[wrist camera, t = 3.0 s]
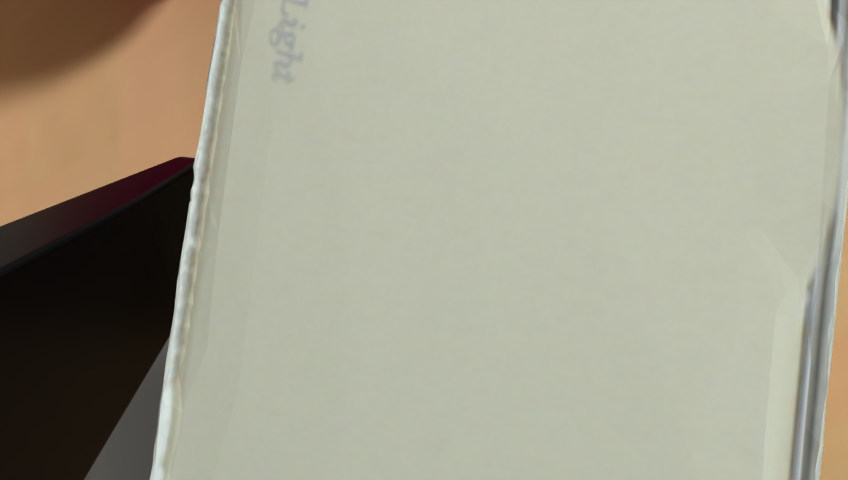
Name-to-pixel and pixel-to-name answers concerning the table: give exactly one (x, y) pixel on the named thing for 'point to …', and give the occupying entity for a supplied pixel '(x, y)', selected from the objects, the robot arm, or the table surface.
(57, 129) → the table surface
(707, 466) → the skincare box
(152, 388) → the charcoal coaster
